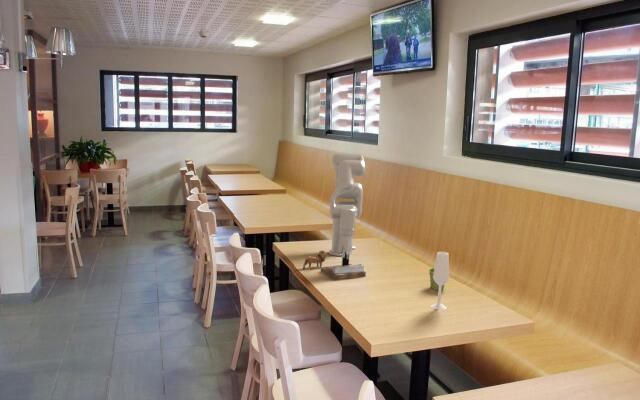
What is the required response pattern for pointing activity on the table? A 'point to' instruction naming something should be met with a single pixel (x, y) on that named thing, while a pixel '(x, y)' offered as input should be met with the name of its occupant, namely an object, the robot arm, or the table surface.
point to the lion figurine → (315, 259)
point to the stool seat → (340, 276)
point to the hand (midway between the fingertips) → (345, 266)
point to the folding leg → (348, 268)
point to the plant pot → (432, 282)
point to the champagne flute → (441, 276)
